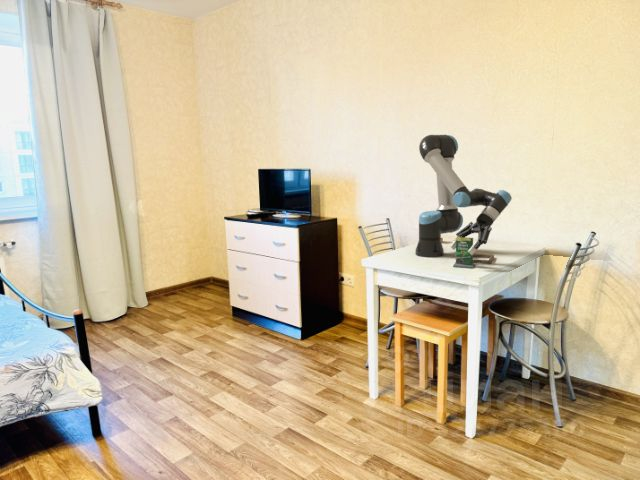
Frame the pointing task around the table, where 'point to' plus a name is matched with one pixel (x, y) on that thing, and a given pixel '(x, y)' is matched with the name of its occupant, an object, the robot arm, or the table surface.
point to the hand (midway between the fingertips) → (460, 250)
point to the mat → (463, 265)
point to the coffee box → (464, 250)
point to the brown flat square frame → (483, 257)
